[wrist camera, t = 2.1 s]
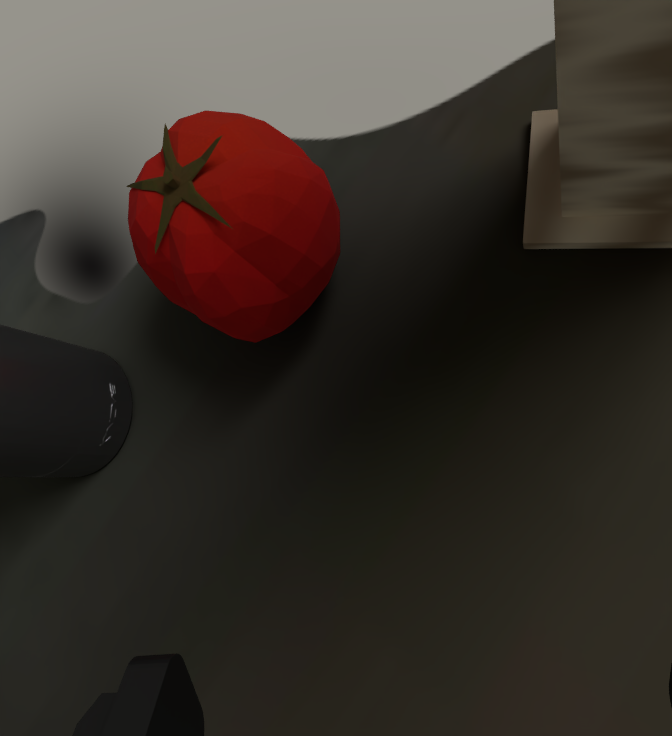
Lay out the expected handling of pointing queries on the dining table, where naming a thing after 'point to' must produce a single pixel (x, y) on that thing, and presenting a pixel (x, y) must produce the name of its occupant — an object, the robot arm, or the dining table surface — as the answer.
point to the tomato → (235, 224)
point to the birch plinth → (605, 131)
